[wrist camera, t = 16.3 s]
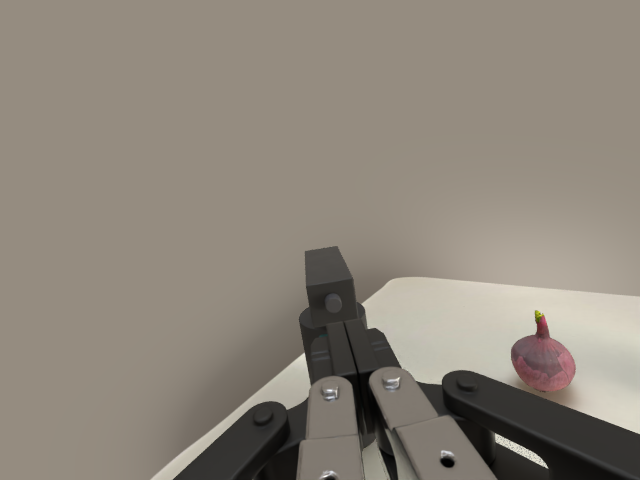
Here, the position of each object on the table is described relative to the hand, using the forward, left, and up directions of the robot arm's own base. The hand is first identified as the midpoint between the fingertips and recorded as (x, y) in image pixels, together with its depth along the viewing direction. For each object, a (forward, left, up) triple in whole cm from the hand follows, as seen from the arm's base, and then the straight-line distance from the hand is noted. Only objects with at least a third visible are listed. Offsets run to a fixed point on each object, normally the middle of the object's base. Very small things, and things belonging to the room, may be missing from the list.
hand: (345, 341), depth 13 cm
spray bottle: (+8, +14, -22) cm, 27 cm away
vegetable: (+29, +5, -22) cm, 37 cm away
